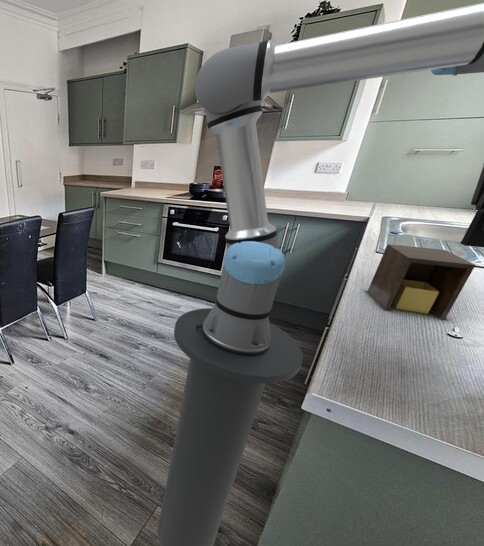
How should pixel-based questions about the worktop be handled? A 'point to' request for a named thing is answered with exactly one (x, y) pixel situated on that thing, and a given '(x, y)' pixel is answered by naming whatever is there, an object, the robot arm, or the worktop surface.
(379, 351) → the worktop surface
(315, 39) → the robot arm
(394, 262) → the shelf
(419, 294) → the basket
